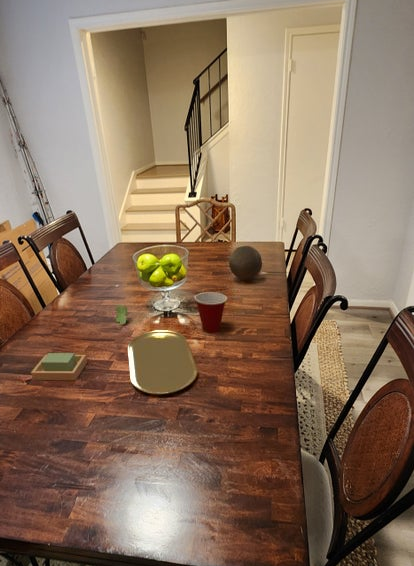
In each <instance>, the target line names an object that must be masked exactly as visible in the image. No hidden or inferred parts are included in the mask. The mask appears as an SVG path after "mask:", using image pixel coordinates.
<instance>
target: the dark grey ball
mask: <svg viewBox="0 0 414 566" xmlns="http://www.w3.org/2000/svg"><path fill="white" fill-rule="evenodd" d="M228 265H229V269H230V272H231V273H232V274H233V275H234V277H236V278H237V279H238V280H241V281H249V280H253V279H254V278H256V277H257V276H258V275H259V274H260V273H261V270H262V267H263V259H262V256H261V254H260V251H258V250H257V249H256V248H254V247H253V246H250V245H242V246H238V247H236V248H235V249H234V250H233V251H232V252H231V254H230V255H229V259H228Z"/></svg>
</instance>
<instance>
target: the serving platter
mask: <svg viewBox="0 0 414 566" xmlns="http://www.w3.org/2000/svg"><path fill="white" fill-rule="evenodd" d="M127 356H128V357H127V358H128V367H129V379H130V383H131V384H132V386H133V387H135V389H137V390H138V391H140V392H142V393H145V394H149V395H153V396H154V395H155V396H156V395H157V396H159V395H160V396H164V395H171V394H174V393H177V392H178V393H179V392H180V391H183V390H185V389H186V388H188V387H189V386H191V384H193V382H194V381H195V380H196V379H197V377H198V373H199V372H198V367H197V363H196V361H195V359H194V356H193V353H192V351H191V348H190V345H189V343H188V340H187V338H186V337H185V336H184V335H183V334H182V333H180V332H177V331H173V330H167V329H164V330H163V329H161V330H158V329H157V330H150V331H147V332H144V333H141V334H139V335H137V336H135V337H134V338H132V339H131V340H130V342H129V343H128V345H127Z"/></svg>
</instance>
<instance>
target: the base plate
mask: <svg viewBox="0 0 414 566" xmlns="http://www.w3.org/2000/svg"><path fill="white" fill-rule="evenodd" d="M46 356H47V354H45V355H44V356H43V357H42V358H41V360H40V361H39V362H38V363H37V364H36V366H35V367H34V368H33V369H32V370H31V372H30V374H31V377H32V380H33V381H77V380H78V378H79V377H80V375H81V373H82V371H83V370H84V368H85V367H86V365H87V364H88V357H87V354H75V357H76V360H77V365H76V366H75V368H74V369H73V371H44V370H43V367H42V364H41V362H42V360H43V359H44V358H45V357H46Z"/></svg>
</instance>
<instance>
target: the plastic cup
mask: <svg viewBox="0 0 414 566" xmlns="http://www.w3.org/2000/svg"><path fill="white" fill-rule="evenodd" d="M194 300H195V303H196V306H197V311H198V314H199V319H200V323H201V326H202V329H203V331H204V332H205V333H209V334H213V333H217V332H219V331H220V329H221V325H222V320H223V314H224V309H225V305H226V303H227V301H228V297H227V295H225V294H224V293H221V292H216V291H215V292H214V291H205V292H200V293H197V294H196V295H194Z"/></svg>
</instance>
